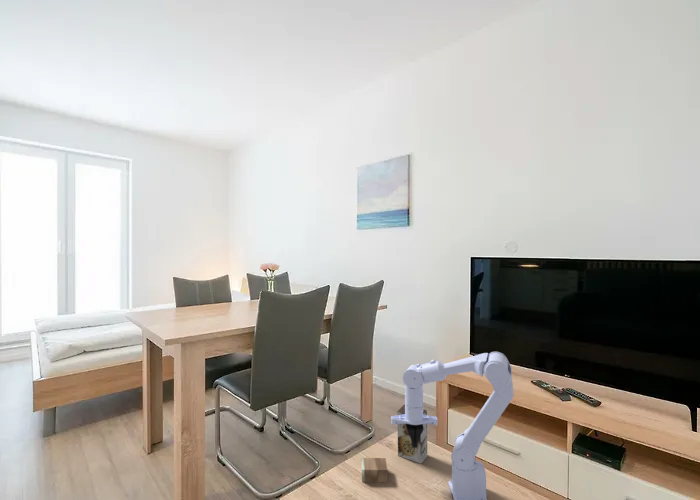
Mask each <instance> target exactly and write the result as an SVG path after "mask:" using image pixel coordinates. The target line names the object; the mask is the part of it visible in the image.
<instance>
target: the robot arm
mask: <svg viewBox="0 0 700 500" xmlns="http://www.w3.org/2000/svg"><path fill="white" fill-rule="evenodd" d="M470 372H474V373H475V374H476V375H477V376H480V377H482V378H483V375H484V376H485V377H486V380H488V382H489V383H490V384H491V386H492V388H493V391H492V393H491V394H490V396H489V397H488V398H487V400H486V402H485V403H484V405H483V406H482V407H481V409H480V410H479V412H478V413H477V415H476V417H475V418H474V420H472V422H471V424H470V425H469V427H468V428H466V429H465V430H464V432H462V433H460V434H458V435H457V436H456V438H455V440H454V442H455V443H454V446H453V450H452V452H451V454H450V455H451V457H450V458H451V480H449V481H448V482H447V484H448V487H449V489H450V492H451V494H452V498H453V500H488V499H487V475H486V469H485V466H484V464H483V463H482V462H481V461H478V460H477V459H476V458H475V457H476V456H477V454H478V452H479V450H480V447H481V444H482V443H483V442H484V440H485V439H486V437H487V436H488V435H489V433H490V431H492V429H493V427H494V426H495V425H496V423H497V421H498V420H499V419H500V418H501V416H502V415H503V413H504V412H505V410H506V409H507V407H508V406H509V404H510V403H511V402H512V400H513V398H514V383H513V382H514V381H513V374H512V373H513V372H512V366H511V363H510V362H509V360H508V358H507V356H506V355H505V354H504V353H502V352H499V351H491V352H490V353H488V352H483V353H479V354H476V355H474V356H473V355H472V356H469V357H464V358H461V359H457V360H454V361H451V362H447V363H445V362H442V361H441V360H436V359H431V360H430V362H427V363H422V364H421V363H417V364H411V365H410V366H409V367H408V368H407V369H406V370H405V372H403V375H402V381H403V383H404V385H405V386H404V405H405V414H403V415H397V414H396V415H391V417H390V422H391V425H392V426H394V425H395V426H396V425H397V424H406V428H407V431H408V433H409V435H410V438H411V442H412V448H417V444H418V440H419V437H420V435H421V433H422V432H423V429H424V428H423V424H427V425H434V426H438V423H439V422H438V417H437V416H436V415H434V416H432V415H428V414H427V415H423V409H424V389H423V388H424V387H423V386H424V384H429V383H434V382H440V381H445V380H446V378H447V376H448V375H456V374H463V373H470Z"/></svg>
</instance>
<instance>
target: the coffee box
mask: <svg viewBox="0 0 700 500" xmlns="http://www.w3.org/2000/svg"><path fill="white" fill-rule="evenodd" d="M403 414H405V404H403V405H402V406H401V407H400V408H399V409H398V410H397V411H396V416H397V415H403ZM423 415H428V410H427V409H424V408H423ZM396 426H397V456H398V457H400V458H401V457H402V458H404V459H407V460H410V461H413V462H415V463H418V464H422V463H423V462H424V461H425V459H426V458H427V457H428V424H423V428H424V429H423V432H422V433H421V435H420V437H419V440H418V444H417V448H412V442H411V438H410V435H409V433H408V431H407V428H406V424H396Z"/></svg>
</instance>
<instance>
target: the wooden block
mask: <svg viewBox="0 0 700 500" xmlns="http://www.w3.org/2000/svg"><path fill="white" fill-rule="evenodd" d="M361 482H362V483H388V465H387V458H386V457H362V458H361Z"/></svg>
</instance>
